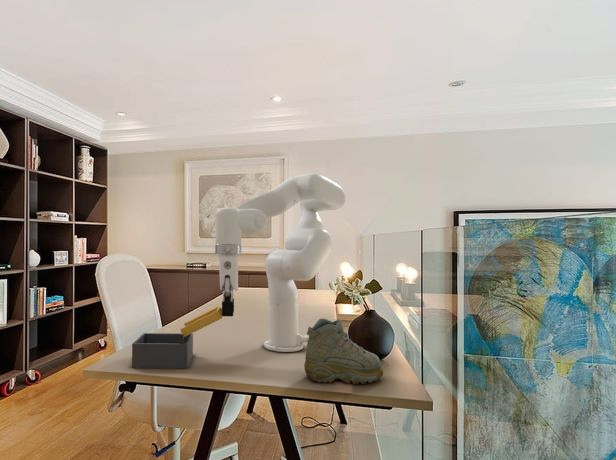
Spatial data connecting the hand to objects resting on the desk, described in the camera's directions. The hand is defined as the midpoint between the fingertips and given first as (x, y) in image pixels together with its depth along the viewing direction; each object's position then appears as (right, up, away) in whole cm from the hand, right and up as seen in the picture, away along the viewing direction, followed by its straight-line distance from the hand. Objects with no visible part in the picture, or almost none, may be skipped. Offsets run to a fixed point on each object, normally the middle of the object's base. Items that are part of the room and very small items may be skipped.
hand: (228, 313), depth 110 cm
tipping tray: (-5, -2, 0) cm, 6 cm away
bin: (-18, -14, 0) cm, 23 cm away
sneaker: (+29, -13, -14) cm, 35 cm away
